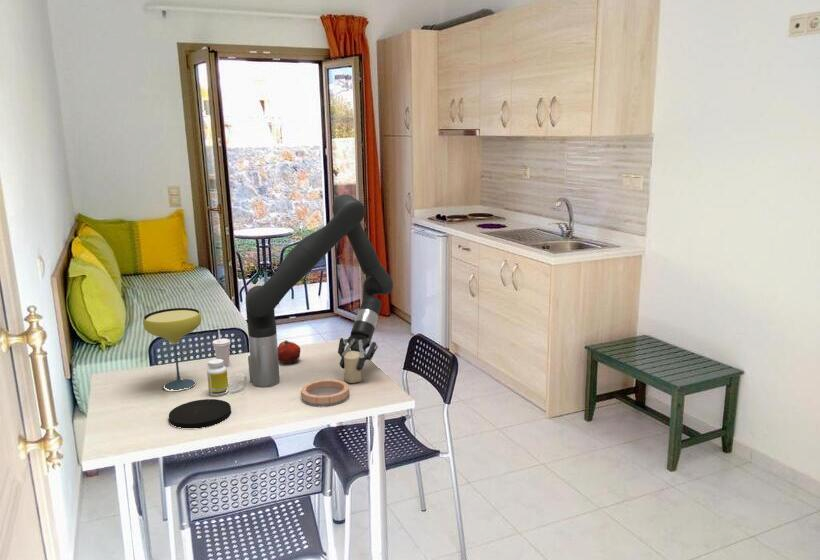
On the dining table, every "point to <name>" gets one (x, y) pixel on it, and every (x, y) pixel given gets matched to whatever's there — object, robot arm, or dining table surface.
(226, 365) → the smoothie
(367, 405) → the dining table surface
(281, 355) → the tomato
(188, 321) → the cocktail glass
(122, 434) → the dining table surface
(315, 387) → the dish
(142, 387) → the dining table surface
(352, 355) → the candle
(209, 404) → the wireless charger
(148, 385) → the dining table surface
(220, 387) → the pill bottle
